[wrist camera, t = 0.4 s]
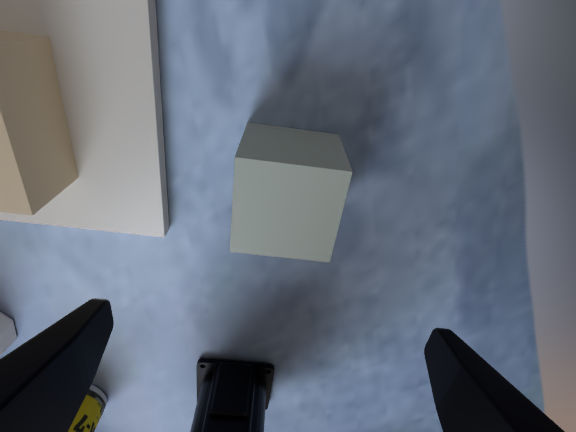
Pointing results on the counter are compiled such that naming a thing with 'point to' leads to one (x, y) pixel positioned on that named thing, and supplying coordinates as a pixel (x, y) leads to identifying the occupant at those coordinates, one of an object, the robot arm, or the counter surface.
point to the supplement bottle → (89, 411)
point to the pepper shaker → (6, 332)
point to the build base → (82, 116)
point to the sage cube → (288, 192)
